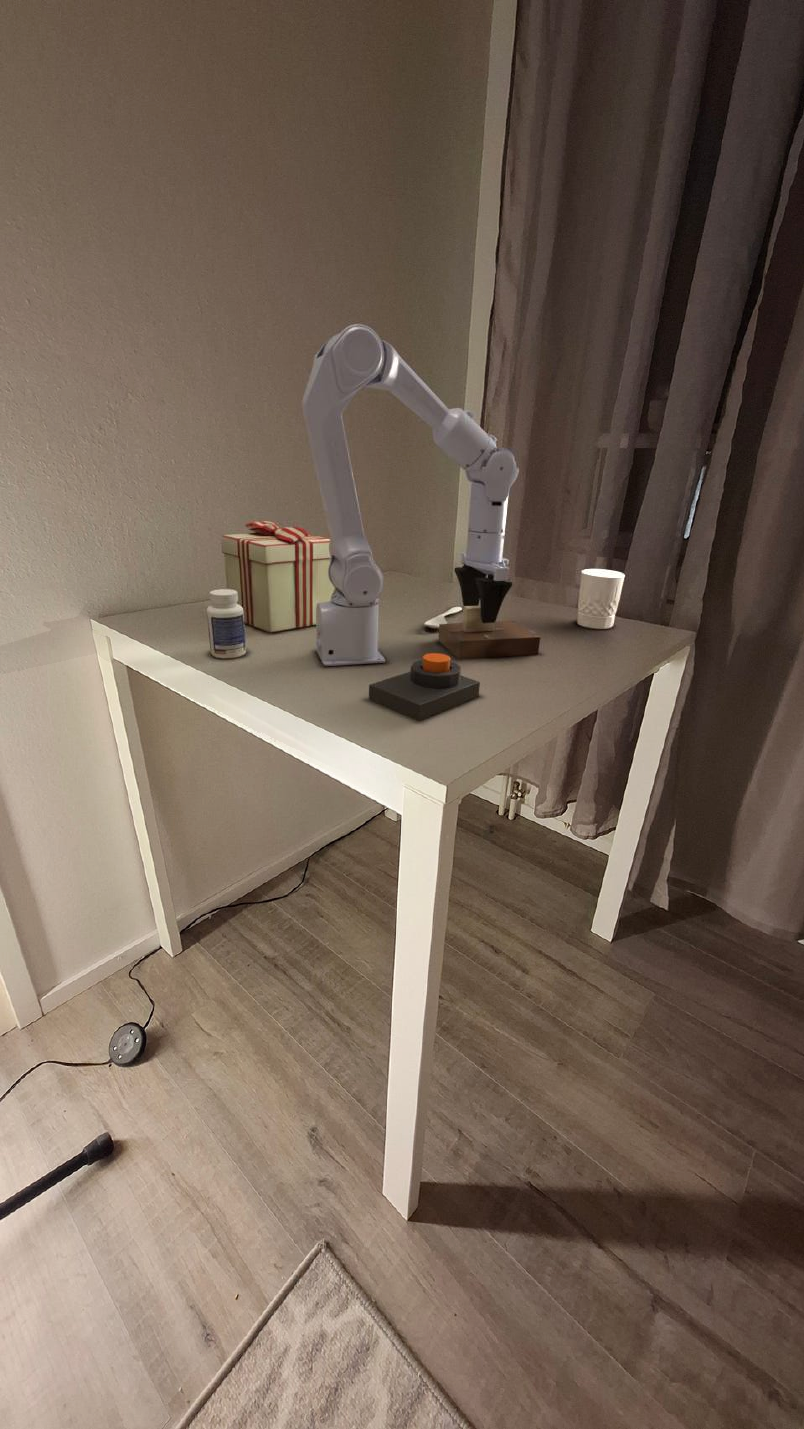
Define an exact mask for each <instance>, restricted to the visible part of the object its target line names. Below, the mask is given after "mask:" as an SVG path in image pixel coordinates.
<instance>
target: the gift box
mask: <svg viewBox="0 0 804 1429" xmlns="http://www.w3.org/2000/svg"><path fill="white" fill-rule="evenodd" d="M244 526H245V527H246V528H247V529H248V530H249V531H251V532H249V533H237V534H235V533H233V534H222V535H221V536H220V541H221V542H220V544H221V553H222V554H224V569H225V570H224V571H225V583H226V584H225V585H226V586H225V587H226V589H230V590H235V591H237V595H238V601H237V604H238V605H240V606H241V607H242V608H243V612H244V624H247V625H249V626H251V627H255V628H257V629H260V630H263V631H264V632H268V633H275V632H280V631H286V630H292V629H299V628H305V627H310V626H315V625H316V608H317V604H318V603H320V602H328V601H331V596H332V593H333V592H334V590H335V587H334V586H333V585H332V583H331V582H330V579H329V576H328V568H329V564H330V552H329V543H330V538H327V537H323V536H320V535H319V536H318V535H312V534H311V535H310V534H309V533H308V532H307V531H306V530H305V529H303V528H301V527H299V526H290V527H287V526H285V527H283V528H279V526H278V525H277V524H276V523H275V522H273V521H268V520H262V521H261V520H257V521H251V522H247V523H245V525H244Z"/></svg>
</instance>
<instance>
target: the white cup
mask: <svg viewBox="0 0 804 1429" xmlns="http://www.w3.org/2000/svg"><path fill="white" fill-rule="evenodd" d="M625 577H626V574H625V573H624V572H621V571H616V570H611V569H602V568H588V569H583V570H581V572H580V582H579V590H578V602H577V617H576V623H577V625H578V626H581V627H583V628H588V629H595V630H607V629H611V628H612V627H614V623H615V618H616V613H617V611H618V608H619V604H620V600H621V596H622V590H623V586H624V583H625V582H624V581H625Z"/></svg>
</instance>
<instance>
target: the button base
mask: <svg viewBox="0 0 804 1429" xmlns="http://www.w3.org/2000/svg"><path fill="white" fill-rule="evenodd" d="M422 667H423V659H420V660H418V661H414V662H413V663H412V664H411V666H410V671H407V672H404V673H401V674H398V675H395V676H391V677H388V678H386V679H383V680H380V681H376V682H373V683H371V684H369V685H368V700H369V701H370V702H372V703H375V704H377V705H380V706H382V707H385V708H387V709H389V710H391V711H394V712H396V713H399V714H401V715H403V716H406V717H408V718H410V719H413V720H415V721H418V722H421V721H423V720H425V719H427V718H430V717H433V716H435V715H437V714H439V713H442V712H444V711H447V710H450V709H452V708H455V707H457V706H459V705H462V704H465V703H466V702H469V701H471V700H472V701H473V700H474V699H476V698H478V697H479V696H480V686H481V682H480V681H478V680H476V679H473V678H469V677H467V676H463V675H462V667H461V666H460V665H459V664H457V663H456V662H452V661H450V669H449V671H447V672H439V673H436V672H428V671H425V670H423V669H422Z"/></svg>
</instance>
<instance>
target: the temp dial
mask: <svg viewBox="0 0 804 1429" xmlns="http://www.w3.org/2000/svg"><path fill="white" fill-rule="evenodd" d="M462 610H463V611H462V622H461V623H462V630H463V631H464V632H484V631H493V628H494V623H482V621H481V608H480V605H478V606H464V607H463V609H462Z"/></svg>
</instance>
